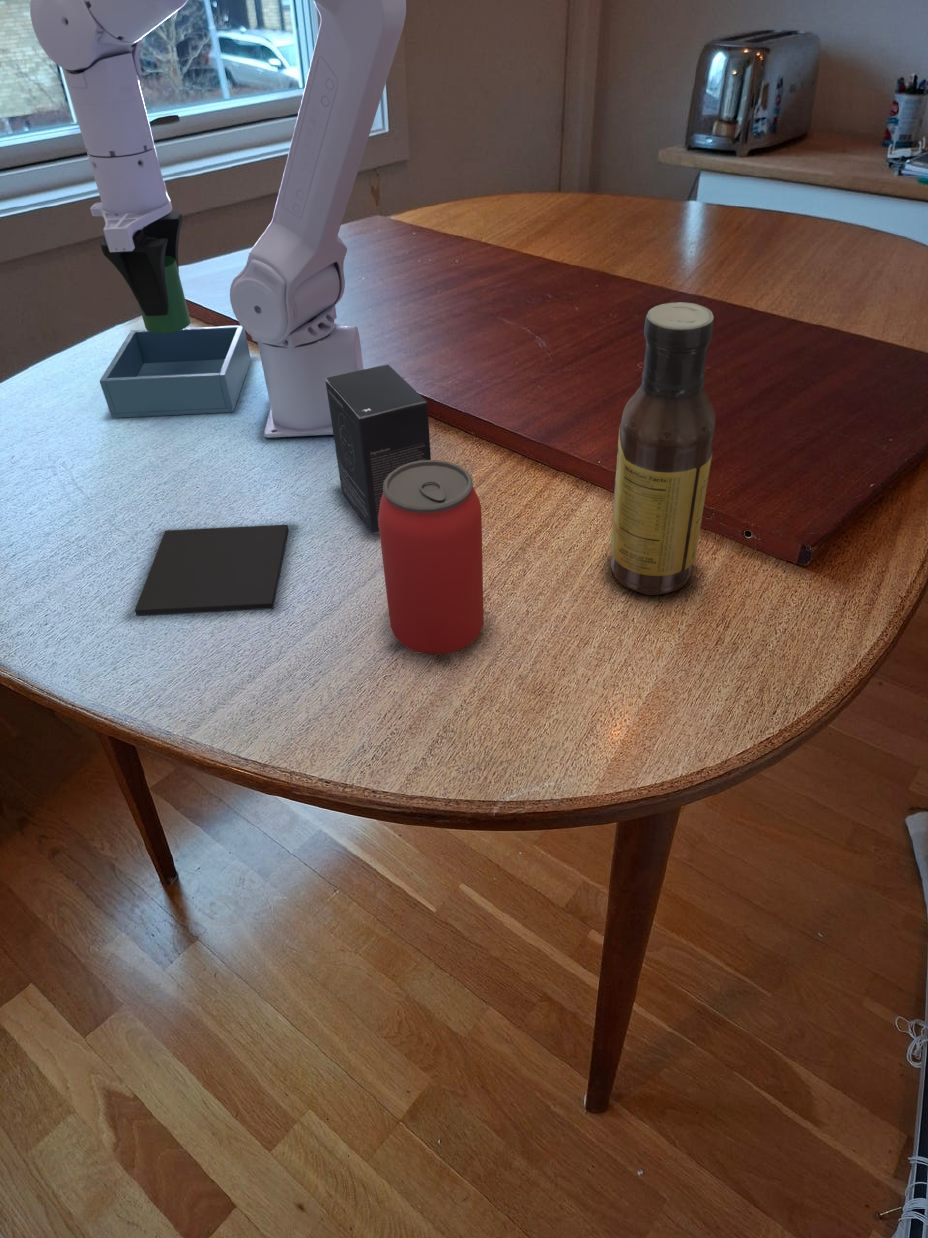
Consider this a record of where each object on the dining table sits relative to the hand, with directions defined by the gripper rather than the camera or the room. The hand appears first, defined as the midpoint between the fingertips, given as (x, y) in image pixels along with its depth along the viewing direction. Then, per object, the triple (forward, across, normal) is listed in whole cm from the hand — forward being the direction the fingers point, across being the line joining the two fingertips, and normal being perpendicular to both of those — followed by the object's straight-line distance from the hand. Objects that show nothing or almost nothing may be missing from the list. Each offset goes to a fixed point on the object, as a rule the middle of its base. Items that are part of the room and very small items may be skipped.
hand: (163, 304), depth 83 cm
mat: (+9, +31, +9) cm, 34 cm away
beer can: (+9, +39, +26) cm, 48 cm away
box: (+9, +23, +22) cm, 33 cm away
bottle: (+2, 0, 0) cm, 2 cm away
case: (+9, -1, 0) cm, 9 cm away
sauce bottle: (+10, +34, +42) cm, 55 cm away
